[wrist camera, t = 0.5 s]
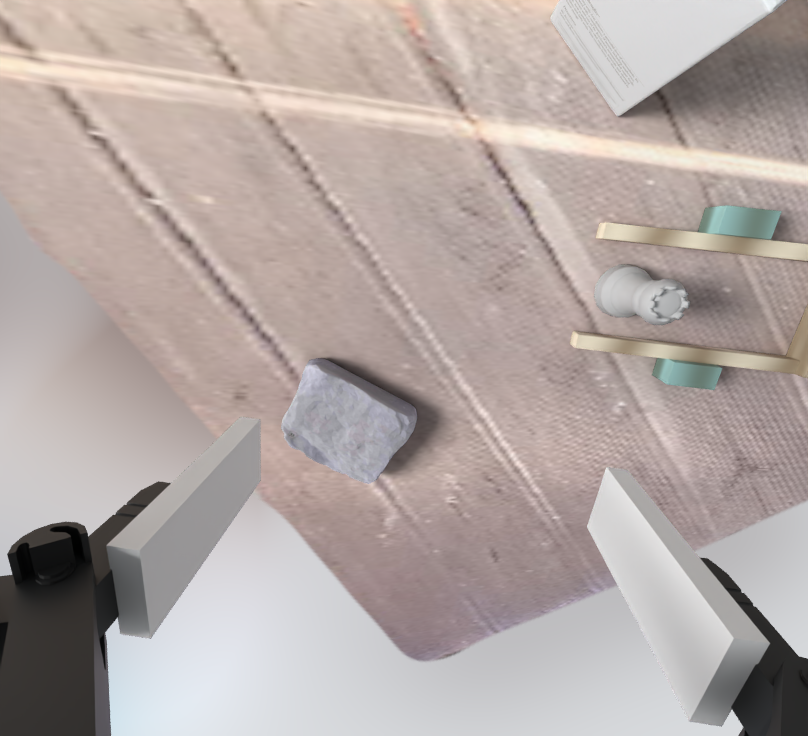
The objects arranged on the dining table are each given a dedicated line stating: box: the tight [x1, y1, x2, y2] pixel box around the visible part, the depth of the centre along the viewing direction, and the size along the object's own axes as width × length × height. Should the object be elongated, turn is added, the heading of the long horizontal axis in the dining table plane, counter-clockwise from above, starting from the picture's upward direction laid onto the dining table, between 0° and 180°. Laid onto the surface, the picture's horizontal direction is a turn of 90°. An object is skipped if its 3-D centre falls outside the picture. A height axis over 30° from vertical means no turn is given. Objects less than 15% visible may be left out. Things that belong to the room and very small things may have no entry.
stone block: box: [281, 358, 417, 484], centre depth 39 cm, size 12×5×10 cm
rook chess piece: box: [594, 265, 690, 325], centre depth 31 cm, size 4×4×8 cm
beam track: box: [570, 206, 808, 390], centre depth 33 cm, size 20×14×2 cm
